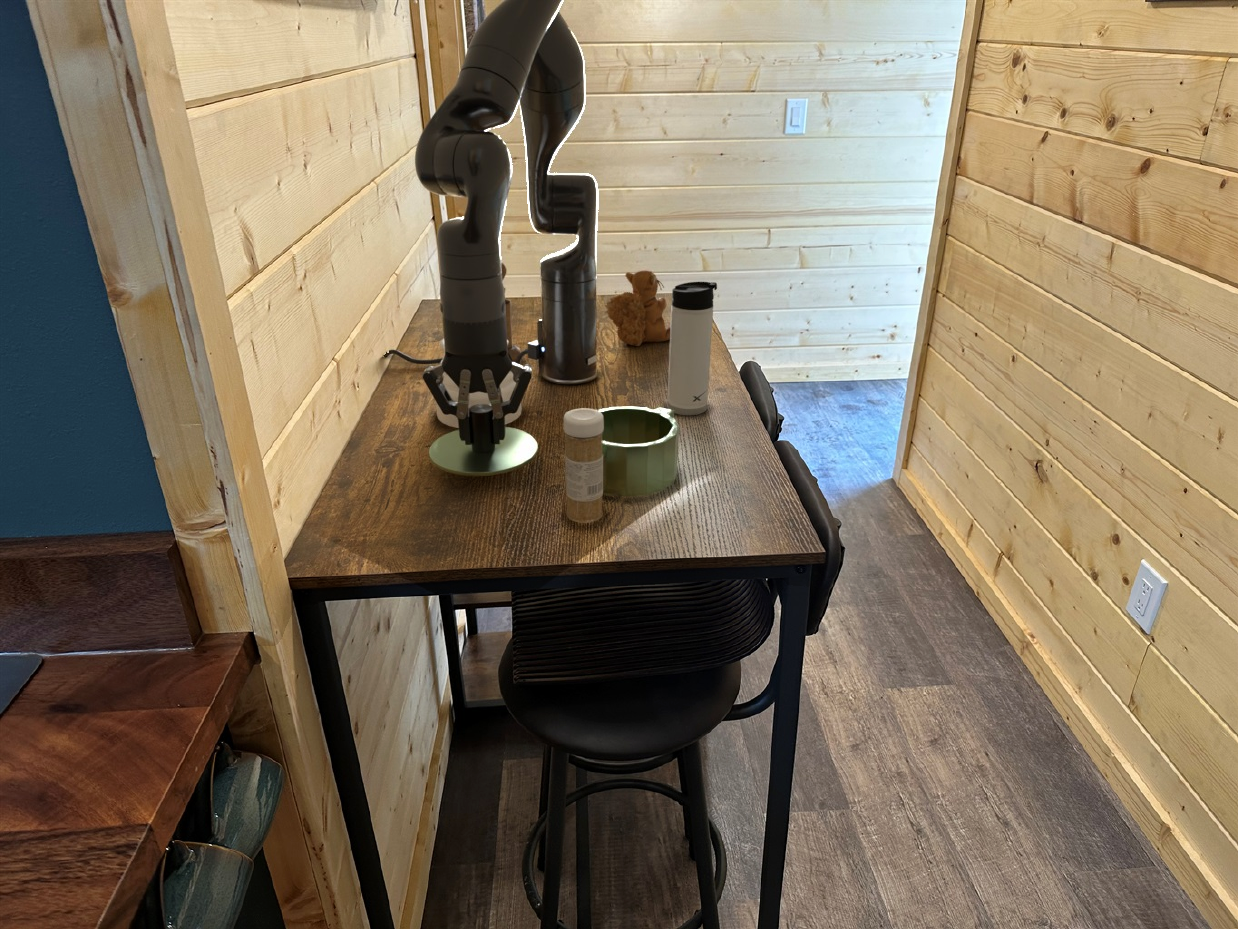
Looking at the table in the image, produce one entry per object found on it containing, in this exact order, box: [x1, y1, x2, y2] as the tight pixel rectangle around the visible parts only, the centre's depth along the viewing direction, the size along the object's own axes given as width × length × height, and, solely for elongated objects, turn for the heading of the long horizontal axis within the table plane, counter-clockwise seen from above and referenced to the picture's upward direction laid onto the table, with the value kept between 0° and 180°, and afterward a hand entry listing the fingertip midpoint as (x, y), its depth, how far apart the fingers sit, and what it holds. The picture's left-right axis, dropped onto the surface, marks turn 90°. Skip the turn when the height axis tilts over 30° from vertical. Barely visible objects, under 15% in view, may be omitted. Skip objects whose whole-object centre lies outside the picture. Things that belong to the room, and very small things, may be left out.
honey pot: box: [435, 338, 523, 429], centre depth 123 cm, size 13×13×18 cm
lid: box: [428, 404, 539, 477], centre depth 105 cm, size 14×14×7 cm
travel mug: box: [666, 281, 718, 416], centre depth 126 cm, size 6×7×20 cm
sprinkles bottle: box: [563, 407, 604, 524], centre depth 96 cm, size 5×5×13 cm
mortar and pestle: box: [501, 261, 522, 363], centre depth 145 cm, size 7×6×18 cm
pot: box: [596, 405, 680, 498], centre depth 108 cm, size 13×18×7 cm
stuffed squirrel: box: [604, 269, 671, 347], centre depth 159 cm, size 10×14×13 cm
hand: (483, 441), depth 106 cm, fingers closed on lid, 3 cm apart
